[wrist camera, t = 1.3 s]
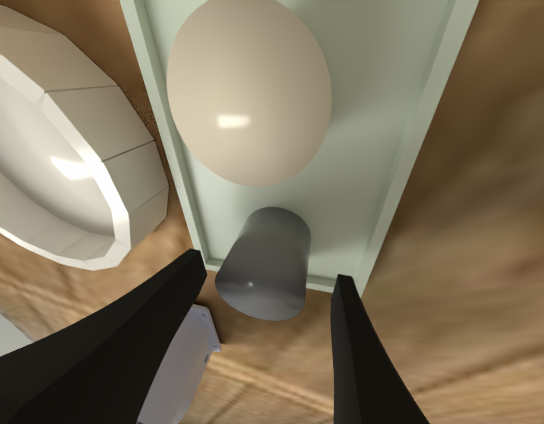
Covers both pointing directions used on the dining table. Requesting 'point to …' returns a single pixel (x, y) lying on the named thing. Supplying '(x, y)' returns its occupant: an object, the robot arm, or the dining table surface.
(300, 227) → the grey short cylinder
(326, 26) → the parts tray
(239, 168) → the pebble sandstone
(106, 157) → the bowl
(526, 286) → the dining table surface
